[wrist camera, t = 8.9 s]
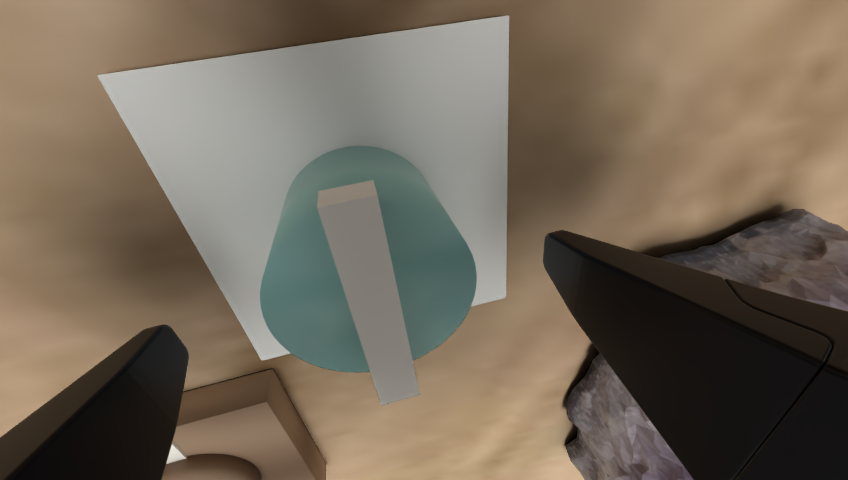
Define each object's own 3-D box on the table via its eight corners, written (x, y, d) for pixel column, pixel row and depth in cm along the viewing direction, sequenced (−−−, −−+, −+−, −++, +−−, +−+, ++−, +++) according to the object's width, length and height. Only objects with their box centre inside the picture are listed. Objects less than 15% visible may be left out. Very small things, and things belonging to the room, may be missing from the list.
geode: (667, 430, 27) (793, 615, 19) (526, 439, 26) (593, 641, 17) (858, 195, 16) (1375, 388, 8) (629, 191, 15) (948, 415, 6)
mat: (107, 73, 8) (96, 75, 8) (502, 16, 9) (509, 15, 9) (263, 352, 13) (262, 360, 13) (502, 291, 15) (506, 297, 14)
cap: (252, 149, 9) (194, 232, 5) (424, 118, 10) (484, 172, 6) (313, 301, 12) (304, 427, 8) (442, 270, 13) (490, 374, 9)
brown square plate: (56, 425, 13) (2, 501, 11) (272, 368, 14) (262, 427, 12) (166, 512, 17) (143, 578, 15) (326, 463, 18) (325, 519, 16)
